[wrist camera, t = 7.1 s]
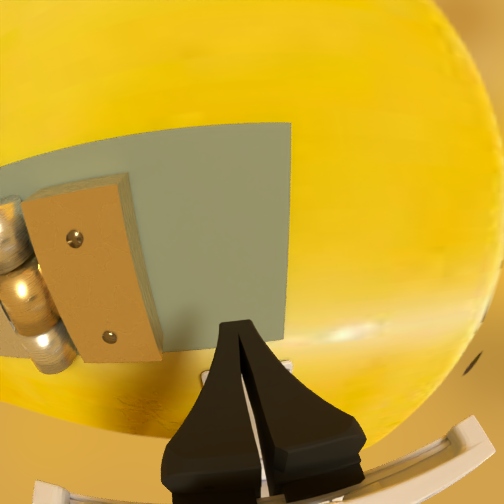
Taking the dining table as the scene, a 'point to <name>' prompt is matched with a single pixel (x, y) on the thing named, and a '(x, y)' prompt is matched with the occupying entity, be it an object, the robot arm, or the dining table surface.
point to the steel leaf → (3, 331)
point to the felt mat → (195, 219)
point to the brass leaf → (86, 272)
